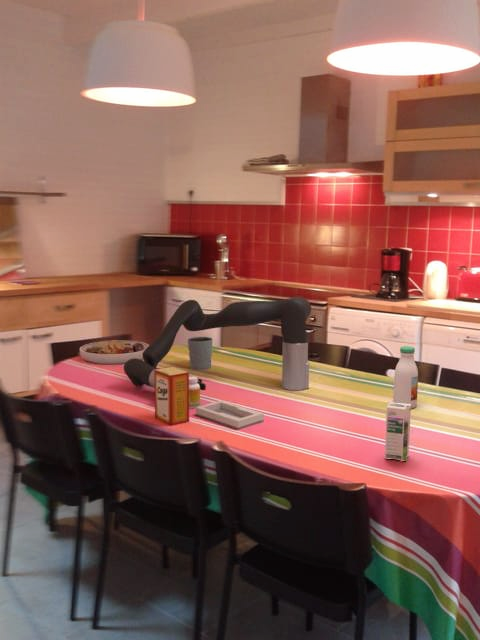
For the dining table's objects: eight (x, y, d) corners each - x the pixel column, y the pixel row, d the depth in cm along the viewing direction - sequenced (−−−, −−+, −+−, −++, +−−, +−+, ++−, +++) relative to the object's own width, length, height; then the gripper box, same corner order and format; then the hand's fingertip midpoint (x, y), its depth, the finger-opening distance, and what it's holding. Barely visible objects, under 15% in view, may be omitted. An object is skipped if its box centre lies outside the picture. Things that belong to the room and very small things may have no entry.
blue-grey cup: (217, 366, 279) (217, 338, 277) (203, 371, 270) (202, 342, 268) (197, 363, 284) (197, 335, 282) (182, 368, 276) (182, 339, 274)
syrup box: (384, 459, 177) (386, 406, 175) (387, 452, 183) (389, 400, 180) (406, 462, 175) (408, 409, 173) (409, 455, 181) (411, 403, 178)
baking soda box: (155, 418, 211) (154, 368, 209) (172, 414, 215) (172, 365, 212) (171, 425, 204) (170, 374, 201) (189, 421, 208) (188, 371, 205)
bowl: (65, 362, 287) (65, 344, 285) (105, 348, 314) (104, 332, 313) (126, 368, 276) (126, 350, 274) (161, 354, 303) (161, 337, 302)
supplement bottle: (202, 405, 225) (202, 376, 223) (195, 409, 220) (194, 380, 219) (188, 403, 227) (188, 375, 226) (180, 407, 223) (180, 378, 221)
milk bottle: (403, 410, 220) (406, 350, 217) (388, 404, 227) (390, 346, 223) (421, 407, 223) (424, 348, 220) (405, 401, 230) (408, 344, 227)
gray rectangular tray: (196, 415, 214) (195, 407, 214) (221, 408, 222) (221, 400, 221) (238, 429, 200) (238, 421, 200) (263, 421, 208) (263, 413, 208)
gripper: (148, 373, 227) (178, 382, 216) (180, 366, 237) (211, 374, 226) (148, 395, 229) (178, 405, 217) (180, 387, 238) (211, 396, 227)
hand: (195, 389), depth 222 cm, fingers open, 8 cm apart
